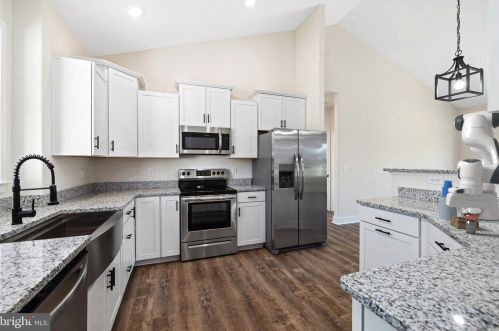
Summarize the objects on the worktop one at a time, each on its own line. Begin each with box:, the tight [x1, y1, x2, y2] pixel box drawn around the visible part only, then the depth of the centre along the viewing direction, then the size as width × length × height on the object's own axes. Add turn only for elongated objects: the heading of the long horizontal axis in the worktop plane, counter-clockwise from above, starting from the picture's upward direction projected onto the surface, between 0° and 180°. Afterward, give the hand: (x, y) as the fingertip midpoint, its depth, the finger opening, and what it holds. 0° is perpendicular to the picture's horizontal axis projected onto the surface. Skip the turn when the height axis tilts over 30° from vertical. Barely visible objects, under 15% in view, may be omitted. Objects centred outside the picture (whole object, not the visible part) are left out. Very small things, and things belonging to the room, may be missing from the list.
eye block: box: [449, 216, 480, 231], centre depth 129 cm, size 9×9×5 cm
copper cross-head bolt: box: [462, 212, 480, 236], centre depth 118 cm, size 6×6×11 cm
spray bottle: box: [438, 179, 458, 221], centre depth 147 cm, size 9×9×25 cm
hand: (470, 216), depth 118 cm, fingers open, 6 cm apart
